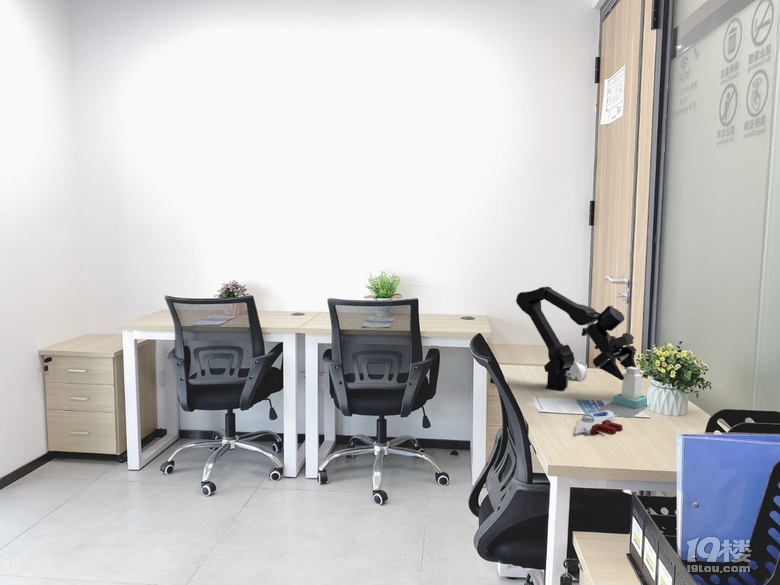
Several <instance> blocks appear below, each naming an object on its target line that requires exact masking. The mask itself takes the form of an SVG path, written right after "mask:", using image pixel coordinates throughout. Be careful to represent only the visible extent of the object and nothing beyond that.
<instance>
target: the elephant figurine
mask: <svg viewBox="0 0 780 585" xmlns="http://www.w3.org/2000/svg"><path fill="white" fill-rule="evenodd" d="M587 369H588V365H587V363H586V361H585V360H583V359H579V360H578V361H576V362H574V364H573V365H572V366H571V368H570V370H569V371H567V376H568V377H571V380H572V381H577V382H582V381H583V380H585V379H587V375H588V372H589V370H587Z"/></svg>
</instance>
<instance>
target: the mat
mask: <svg viewBox="0 0 780 585" xmlns="http://www.w3.org/2000/svg"><path fill="white" fill-rule="evenodd" d="M649 407H650V406H648V405H645V406H643V407H640V408H637V409H635V408H631V407H627V406H623V405H619V404H615V403H613V400H612V401H611V402H608V403H607V404H604V405H603V406H602V407H599V408H598V409H596V410H595V412H601V411H607V410H608V411H612V412H613V413H614V415H615V416H617V417H622V418H627V419H632V418H633V417H636V416H637V415H638V414H640V413H641V412H644V410H645V409H648V408H649Z"/></svg>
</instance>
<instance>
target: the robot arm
mask: <svg viewBox="0 0 780 585" xmlns="http://www.w3.org/2000/svg"><path fill="white" fill-rule="evenodd" d="M542 301H547V302H548V303H550V304H552V306H553V305H554V306H555V307H556V308H558V309H559V310H562V312H564V313H566V314H567V315H568V316H569V318H570V319H571V320H572V321H573V322H574V323H576V325H579V326H585V325H587V327H582V329H581V330H582V331H581V337H585V336H588V337H589V338H590V339H591V340H592V342H593V343H594V344H595V346H594V349H595V350H599V352H600V353H599V354H598V355H597V356H596V357H594V358H593V359H592V364H593V366H594V367H595V368H596V369H597V368H599V370H602V371H604V372H606V373H608V374H610V375H612V376H614V377H615V378H617V379H618V380H620V381H623V379H624V377H623V372H622V371H621V369H619V367H618V365H617V361H618V362H619V364H620V365H621V366H622V367H624V368H625V369H626V368H628V367H636V368H637V365H636V362H635V355H636V352H637V348H635V347H634V346H633V345H632V344H634V339H635V337H634V336H633V334H632V333H630V332H629V331H628V332H625V333H622V336H621V335H620V336H619V337H616V336H614V335H611V334H610V333H609V332H611V331H613V330H615V329H616V328H617V327H618V326H619V325H620V324H622V323H623V322H624V321H625V316H624V314H623V312H621V311H620V310H619V309H616V308H615V307H614V306H613V305H608V306H606V307H605V308H604V310H602V312H598V311H597V310H595V308H594V307H590V306H589V305H588V306H587V305H585V304H580V303H577V302H574V301H573V300H572V299H569V298H568V297H567V296H564V295H563V294H561V293H559V292H558V291H556V290H554V289H553V288H552V287H550V286H540V287H539V288H537V289H533V290H530V291H521V292H519V293H518V294H517V295H516V300H515V302H516V304H517V306H518V307H519V309H520V310H521V311H523V312H524V313H525V314H527V316H529V317H530V318H529V319H531V321H532V323H533V325H534V327H535V328H536V330H537V332H538V334H539V335H540V337H541V339H542V341H543V342H544V344H545V346H546V348H547V351H548V352H547V356H548V359H549V361H548V362H547V363H546V364H545V365H544V366H543V367H544V371H545V373H547V379H546V380H547V382H546V386H545V389H549V390H555V391H562V392H564V391H565V390H566V389H567V388H568V386H569V376H567V371H569V370H570V368H571V366H572V365H573V364H574V363H575V357H574V355H575V353H574V352H573V351H572V349H571V348H570V345H569V344H563V343H562V342H560V340H559V338H558V337H557V334H556V333H555V331H554V330H553V328H552V326H551V325H550V323H549V321H548V319H547V317H546V315H545V313H544V312H543V310H542ZM608 331H609V332H608ZM616 360H617V361H616Z"/></svg>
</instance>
